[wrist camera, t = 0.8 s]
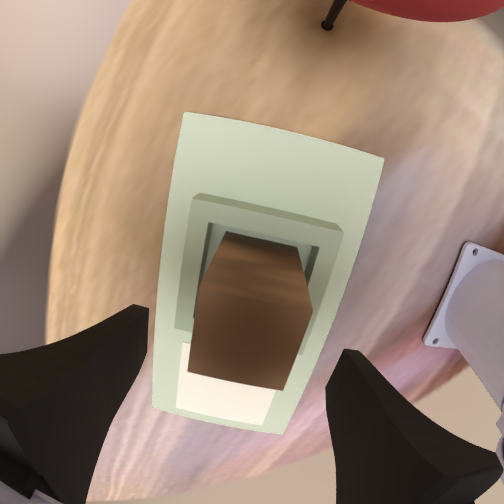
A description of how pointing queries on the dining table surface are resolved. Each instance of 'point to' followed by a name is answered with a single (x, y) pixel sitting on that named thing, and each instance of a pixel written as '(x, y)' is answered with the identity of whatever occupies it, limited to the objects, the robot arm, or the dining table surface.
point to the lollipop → (422, 9)
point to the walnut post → (250, 313)
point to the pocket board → (259, 226)
